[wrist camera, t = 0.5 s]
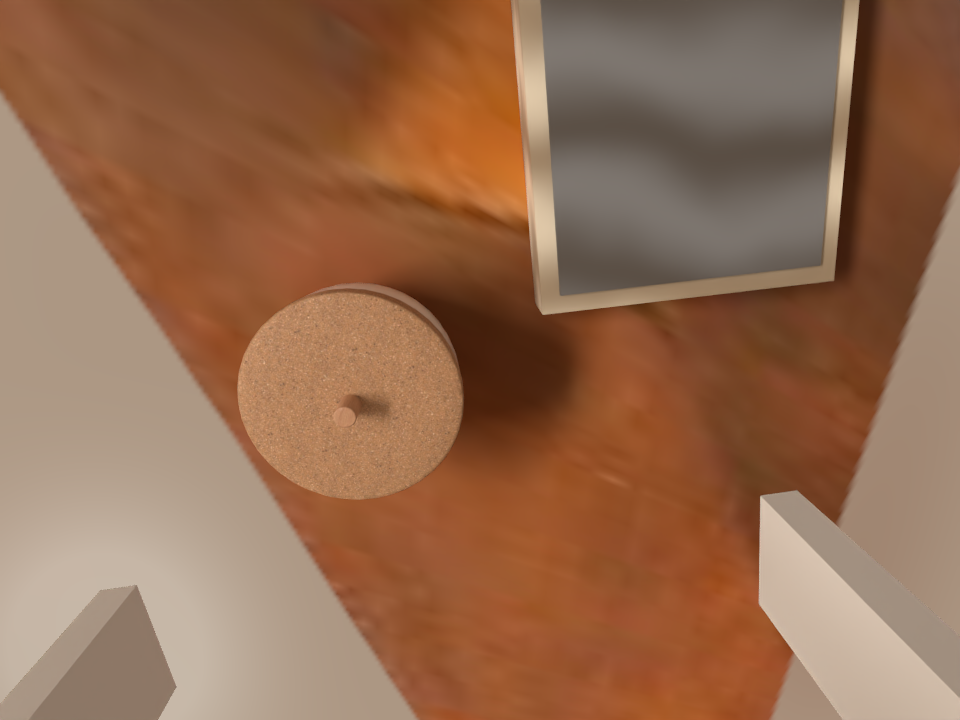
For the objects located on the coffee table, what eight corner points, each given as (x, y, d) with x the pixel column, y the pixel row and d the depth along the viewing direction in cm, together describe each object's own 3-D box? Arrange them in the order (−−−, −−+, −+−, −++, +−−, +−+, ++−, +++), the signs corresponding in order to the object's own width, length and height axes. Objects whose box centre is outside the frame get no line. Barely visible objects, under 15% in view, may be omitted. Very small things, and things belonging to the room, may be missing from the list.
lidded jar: (485, 297, 33) (496, 341, 24) (433, 452, 36) (426, 543, 27) (306, 241, 32) (246, 266, 23) (268, 408, 35) (202, 488, 26)
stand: (510, -6, 28) (517, -29, 25) (824, -42, 28) (870, -70, 25) (535, 303, 33) (543, 316, 30) (801, 271, 33) (837, 281, 30)
